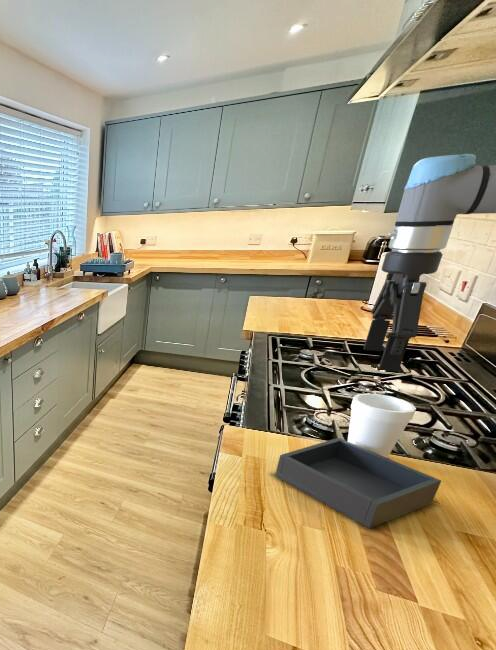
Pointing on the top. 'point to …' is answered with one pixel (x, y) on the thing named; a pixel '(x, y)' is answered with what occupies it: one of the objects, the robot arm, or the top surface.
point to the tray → (357, 481)
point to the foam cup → (378, 421)
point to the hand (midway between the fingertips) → (379, 359)
